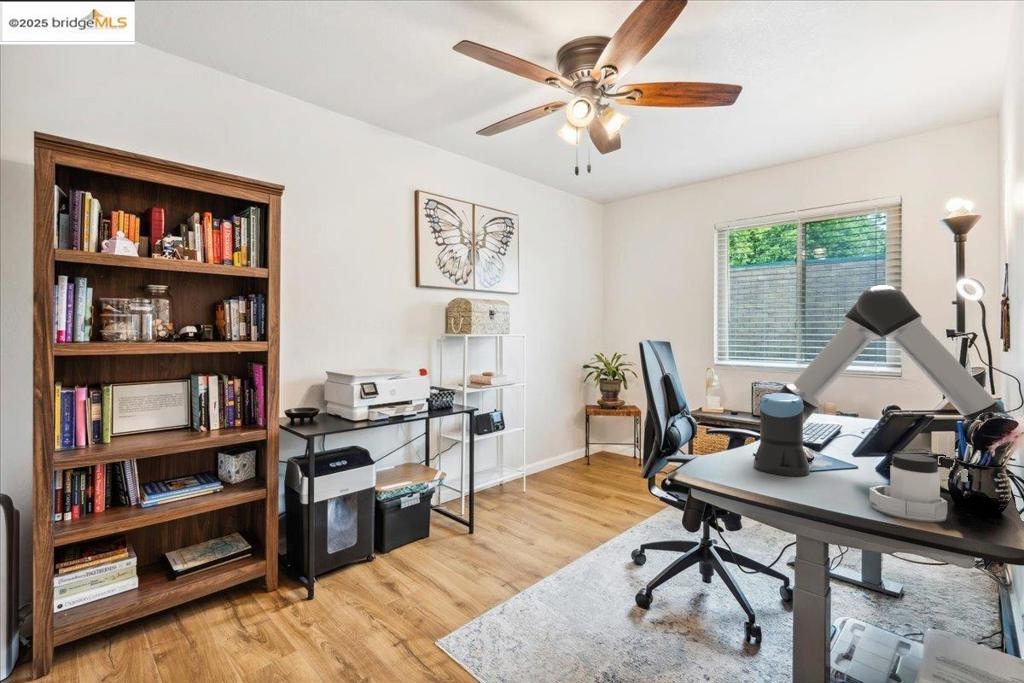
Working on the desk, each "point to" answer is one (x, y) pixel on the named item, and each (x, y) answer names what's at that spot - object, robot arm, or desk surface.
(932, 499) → the jar
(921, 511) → the grey octagonal tray
